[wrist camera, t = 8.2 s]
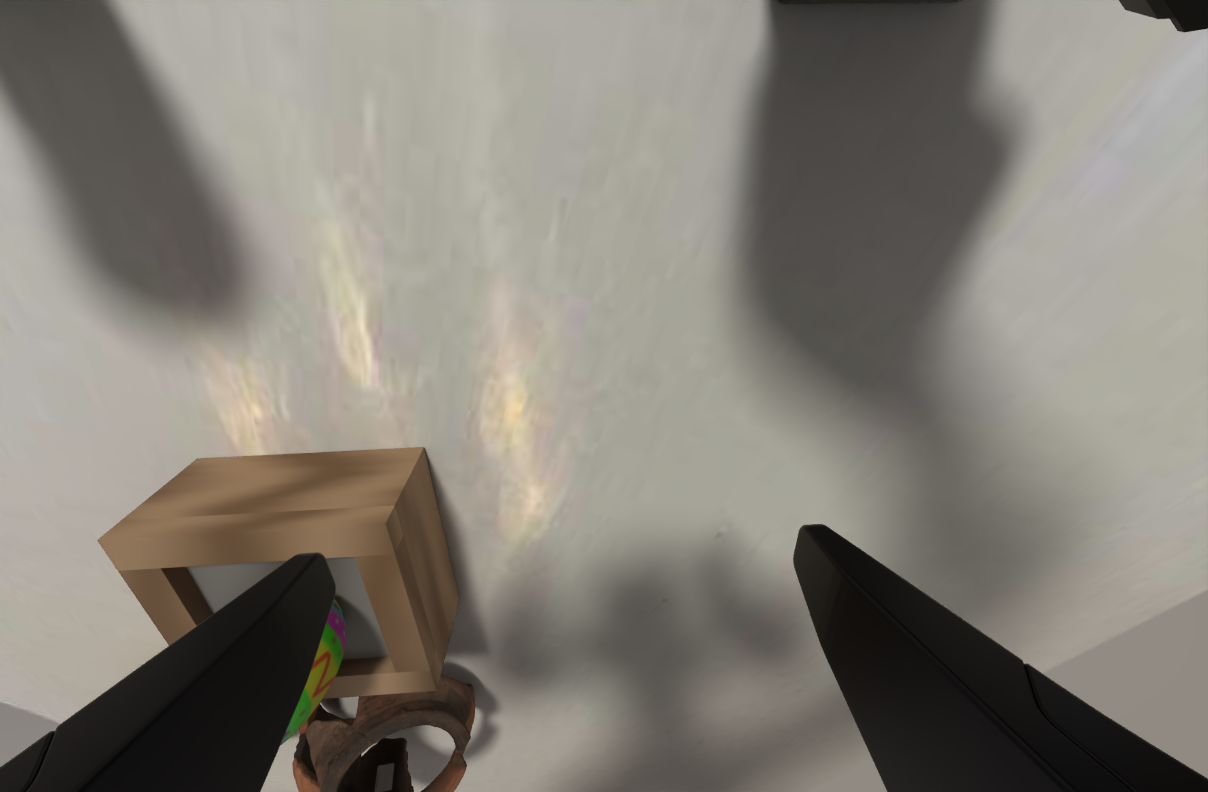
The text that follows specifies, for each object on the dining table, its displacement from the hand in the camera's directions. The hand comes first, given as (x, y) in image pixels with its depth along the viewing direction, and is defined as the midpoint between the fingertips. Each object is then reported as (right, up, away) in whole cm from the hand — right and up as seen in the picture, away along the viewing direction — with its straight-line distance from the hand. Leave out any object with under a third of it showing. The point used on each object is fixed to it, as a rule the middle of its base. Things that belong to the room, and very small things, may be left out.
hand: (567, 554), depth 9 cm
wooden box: (-12, -4, +15) cm, 20 cm away
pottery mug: (-12, -16, +21) cm, 29 cm away
